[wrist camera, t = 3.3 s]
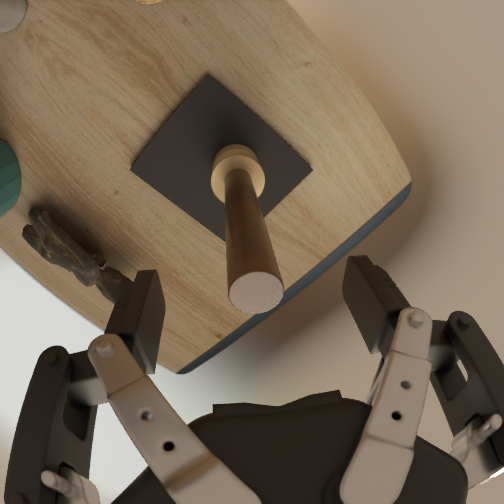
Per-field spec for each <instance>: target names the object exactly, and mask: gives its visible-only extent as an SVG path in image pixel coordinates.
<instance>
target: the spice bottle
mask: <svg viewBox="0 0 504 504" xmlns="http://www.w3.org/2000/svg"><path fill="white" fill-rule="evenodd" d="M136 1H137V2H139V3H142V4H155V3H158V2H161V1H163V0H136Z"/></svg>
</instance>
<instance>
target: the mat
mask: <svg viewBox="0 0 504 504" xmlns="http://www.w3.org/2000/svg"><path fill="white" fill-rule="evenodd" d="M233 144H239V145H244V146H246V147H248V148H249V149H251V150H252V151H253V152H254V154H255V155H256V157H257V159H258V161H259V163H260V165H261V167H262V169H263V172H264V175H265V185H264V188H263V191H262V193H261V194H260V196H259V197H258V201H259V205H260V208H261V211H262V214H263V218H264V217H265V216H266V215H267V214H268V213H269V212H270V211H271V210H272V209H273V208H274V207H275V206H276V205H277V204H279V203H280V202H281V201H282V200H283V199H284V198H285V197H286V196H287V195H288V194H289V193H290V192H291V191H292V190H293V189H294V188H295V187H296V186H297V185H298V184H299V183H300V182H301V181H302V180H303V179H304V178H305V177H306V176H307V175H309V174H310V173H311V172H312V171H313V169H312V168H311V167H310V166H309V165H308V164H307V163H306V162H305V161H304V160H303V159H302V158H301V157H300V156H299V155H298V154H297V153H296V152H295V151H294V150H293V149H292V148H291V147H290V146H289V145H288V144H287V143H285V142H284V141H283V140H282V139H281V138H280V137H279V136H278V135H277V134H276V133H275V132H274V131H273V130H272V129H271V128H270V127H269V126H267V125H266V124H265V123H264V122H263V121H262V120H261V119H260V118H259V117H258V116H257V115H255V114H254V113H253V112H252V111H251V110H250V109H249V108H248V107H246V106H245V105H244V104H243V103H242V102H241V101H240V100H238V99H237V98H236V97H235V96H234V95H232V94H231V93H230V92H229V91H228V90H227V89H225V88H224V87H223V86H222V85H221V84H219V83H218V82H217V81H216V80H214V79H213V78H212V77H211V76H209V75H207V76H206V77H205V78H204V79H203V81H202V82H201V83H200V84H199V85H198V86H197V87H196V88H195V89H194V90H193V91H192V92H191V93H190V95H189V96H188V97H187V98H186V99H185V100H184V101H183V102H182V104H181V105H180V106H179V107H178V108H177V109H176V111H175V112H174V113H173V114H172V115H171V116H170V118H169V119H168V120H167V121H166V123H165V124H164V125H163V126H162V127H161V129H160V130H159V131H158V132H157V134H156V135H155V136H154V138H153V139H152V140H151V141H150V143H149V144H148V145H147V147H146V148H145V149H144V151H143V152H142V153H141V155H140V156H139V157H138V159H137V160H136V162H135V163H134V164H133V166H132V167H131V168H130V171H132V172H133V173H134V174H136V175H137V176H138V177H140V178H141V179H142V180H144V181H145V182H146V183H148V184H149V185H150V186H152V187H153V188H154V189H156V190H157V191H158V192H160V193H161V194H162V195H163V196H165V197H166V198H167V199H169V200H170V201H171V202H173V203H174V204H175V205H177V206H178V207H179V208H181V209H182V210H183V211H185V212H186V213H187V214H189V215H190V216H191V217H193V218H194V219H195V220H197V221H198V222H199V223H201V224H202V225H203V226H205V227H206V228H207V229H209V230H210V231H211V232H213V233H214V234H215V235H217V236H218V237H219V238H221V239H222V240H223V241H225V242H226V226H225V203H224V202H222V201H221V200H219V199H218V198H217V197H216V195H215V194H214V192H213V190H212V187H211V175H212V167H213V161H214V158H215V156H216V154H217V153H218V152H219V151H220V150H221V149H222V148H224V147H226V146H228V145H233Z"/></svg>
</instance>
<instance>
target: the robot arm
mask: <svg viewBox="0 0 504 504" xmlns="http://www.w3.org/2000/svg"><path fill="white" fill-rule="evenodd" d="M342 290H343V291H342V292H343V297H344V300H345V302H346V304H347V306H348V308H349V310H350V312H351V314H352V316H353V318H354V320H355V322H356V324H357V325H358V328H359V330H360V332H361V334H362V337H363V339H364V341H365V343H366V345H367V347H368V350H369V352H370V354H374V353H378V352H381V354H382V358H381V360H380V362H379V365H378V368H377V371H376V374H375V377H374V379H373V382H372V385H371V388H370V390H369V393H368V395H367V397H366V399H365V402H361V401H359V400H354V399H349V398H342V396H341V393H340V390H335V391H329V392H324V393H318V394H312V395H308V396H306V397H303V398H301V399H298V400H296V401H293V402H290V403H287V404H285V405H282V406H268V405H260V404H252V403H231V404H213V413H210V414H207V415H204V416H202V417H199V418H197V419H196V420H194V421H192V422H191V423H189V424H188V425H186V424H185V422H184V421H183V420H182V419H181V418H180V416H179V415H178V414H177V413H176V412H175V410H174V409H173V408H172V407H171V405H170V404H169V403H168V402H167V400H166V399H165V398H164V396H163V395H162V394H161V392H160V391H159V390H158V388H157V387H156V386H155V384H154V383H153V381H152V380H151V379H150V377H149V376H148V375H147V374H155V368H156V361H157V355H158V349H159V343H160V338H161V332H162V327H163V321H164V316H165V299H164V295H163V291H162V287H161V283H160V279H159V275H158V272H157V270H141V271H138V273H137V275H136V278H135V280H134V283H128V284H127V285H126V286H125V287H124V288H123V289H122V290H121V291H120V293H119V295H118V298H117V302H116V303H115V306H114V309H113V311H112V313H111V316H110V319H109V322H108V324H107V327H106V330H105V333H104V334H103V335H100V336H98V337H97V338H95V339H94V340H93V341H92V342H91V343H90V345H89V347H88V350H86V351H81V352H77V353H73V354H69V353H68V352H67V350H66V349H65V348H64V347H62V346H52V347H49V348H47V349H46V350H45V351H43V352H42V354H41V355H40V356H39V359H38V361H37V364H36V366H35V369H34V372H33V375H32V378H31V381H30V383H29V386H28V389H27V392H26V396H25V399H24V402H23V405H22V409H21V412H20V416H19V420H18V423H17V427H16V431H15V435H14V440H13V444H12V449H11V454H10V459H9V464H8V470H7V477H6V483H5V492H4V502H5V504H101V503H100V499H99V493H98V490H97V488H96V486H95V485H94V484H93V483H92V482H91V481H90V480H89V470H90V459H91V450H92V441H93V434H94V425H95V419H96V414H97V408H98V404H103V403H107V402H109V403H110V405H111V407H112V408H113V410H114V412H115V414H116V416H117V417H118V419H119V421H120V422H121V424H122V425H123V427H124V429H125V431H126V432H127V434H128V435H129V437H130V439H131V440H132V442H133V443H134V445H135V446H136V448H137V449H138V451H139V452H140V454H141V455H142V457H143V458H144V459H145V461H146V463H147V464H148V467H147V468H146V469H145V470H144V471H143V472H142V473H141V474H140V475H139V476H138V477H137V478H136V479H135V480H134V481H133V482H132V483H131V484H130V485H129V486H128V487H127V488H126V489H125V490H124V491H123V492H122V493H121V494H120V495H119V496H118V497H117V498H116V499H115V500H114V501H113V502H112V503H111V504H466V499H467V493H468V490H469V489H471V488H472V487H474V486H476V485H480V484H483V483H485V482H487V481H488V480H490V479H492V478H494V477H495V476H497V475H499V474H500V473H502V472H504V365H503V363H502V361H501V360H500V358H499V357H498V355H497V353H496V351H495V350H494V348H493V347H492V345H491V343H490V342H489V340H488V339H487V337H486V336H485V334H484V333H483V331H482V330H481V328H480V327H479V325H478V324H477V322H476V321H475V320H474V318H473V317H472V316H470V315H469V314H467V313H465V312H462V311H455V312H453V313H451V315H450V316H449V318H448V320H447V321H440V320H432V319H431V317H430V316H429V315H428V314H427V313H426V312H425V311H423V310H421V309H419V308H415V307H411V306H410V304H409V303H408V301H407V300H406V298H405V297H404V296H403V294H402V293H401V291H400V290H399V288H398V287H396V284H395V283H394V282H393V281H392V279H391V278H390V276H389V275H388V273H387V272H386V271H385V270H383V269H382V268H380V267H379V266H378V265H373V263H372V262H371V261H370V259H369V258H368V257H367V256H366V255H357V256H349V257H348V259H347V264H346V269H345V275H344V280H343V287H342ZM459 359H460V360H461V362H462V364H463V365H464V367H465V369H466V371H467V374H468V380H467V382H466V380H465V378H464V376H463V374H462V372H461V370H460V368H459V367H458V365H457V362H458V360H459ZM145 374H146V375H145ZM429 379H430V381H431V383H432V385H433V388H434V390H435V392H436V395H437V397H438V399H439V402H440V404H441V406H442V409H443V411H444V413H445V416H446V418H447V421H448V423H449V426H450V429H451V431H452V434H453V436H454V439H453V442H452V450H451V451H450V454H448V453H446V452H444V451H443V450H441V449H439V448H438V447H436V446H434V445H432V444H431V443H429V442H427V441H426V440H424V439H423V438H421V437H419V436H418V435H417V431H418V427H419V424H420V420H421V416H422V411H423V407H424V403H425V399H426V393H427V389H428V384H429Z"/></svg>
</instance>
